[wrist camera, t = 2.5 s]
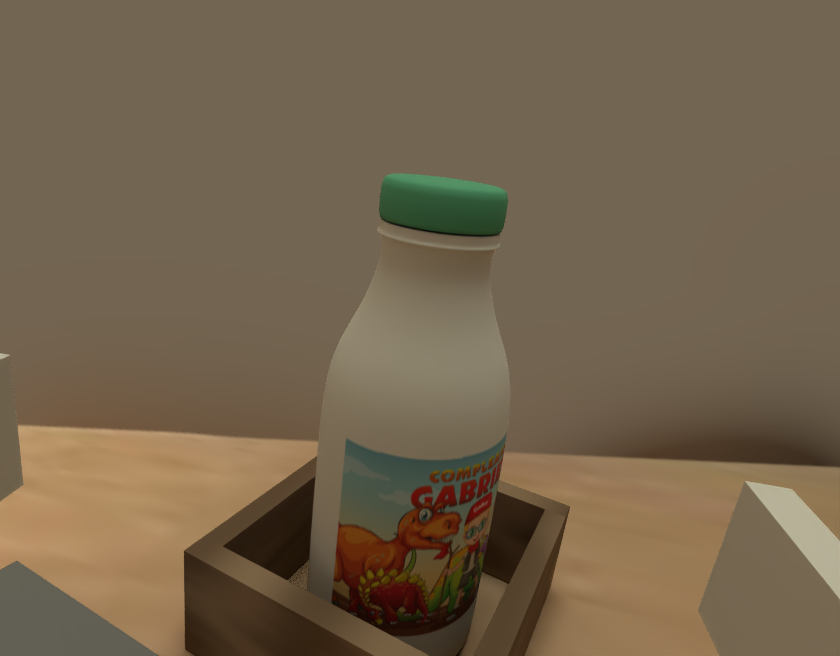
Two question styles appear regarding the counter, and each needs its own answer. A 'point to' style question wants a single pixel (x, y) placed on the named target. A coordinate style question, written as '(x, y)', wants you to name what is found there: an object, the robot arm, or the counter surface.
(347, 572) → the milk bottle
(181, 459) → the counter surface
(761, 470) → the counter surface
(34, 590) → the slate tile
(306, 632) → the walnut caddy
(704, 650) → the counter surface
